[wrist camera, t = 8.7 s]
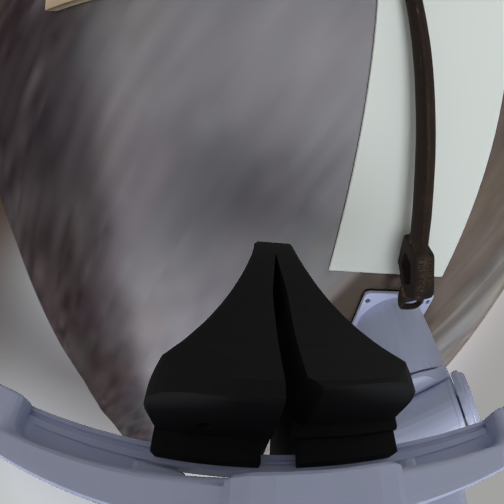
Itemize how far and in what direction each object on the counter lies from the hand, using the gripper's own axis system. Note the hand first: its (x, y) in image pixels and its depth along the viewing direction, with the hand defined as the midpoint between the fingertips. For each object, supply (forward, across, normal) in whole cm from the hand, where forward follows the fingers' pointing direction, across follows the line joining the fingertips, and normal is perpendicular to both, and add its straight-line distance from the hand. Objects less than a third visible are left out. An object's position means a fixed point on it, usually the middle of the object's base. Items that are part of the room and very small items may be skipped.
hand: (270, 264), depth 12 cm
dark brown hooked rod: (+10, -12, -5) cm, 17 cm away
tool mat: (+10, -12, -6) cm, 17 cm away
